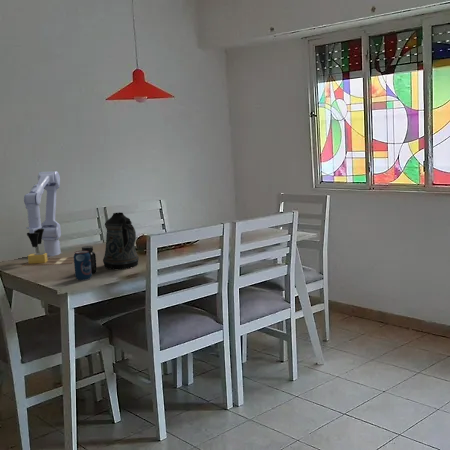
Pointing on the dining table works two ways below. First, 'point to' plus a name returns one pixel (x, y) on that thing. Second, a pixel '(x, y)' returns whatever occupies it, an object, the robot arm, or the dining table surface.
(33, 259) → the block
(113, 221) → the beer stein
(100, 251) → the dining table surface
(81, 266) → the soda can
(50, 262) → the board
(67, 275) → the dining table surface
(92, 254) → the supplement bottle
